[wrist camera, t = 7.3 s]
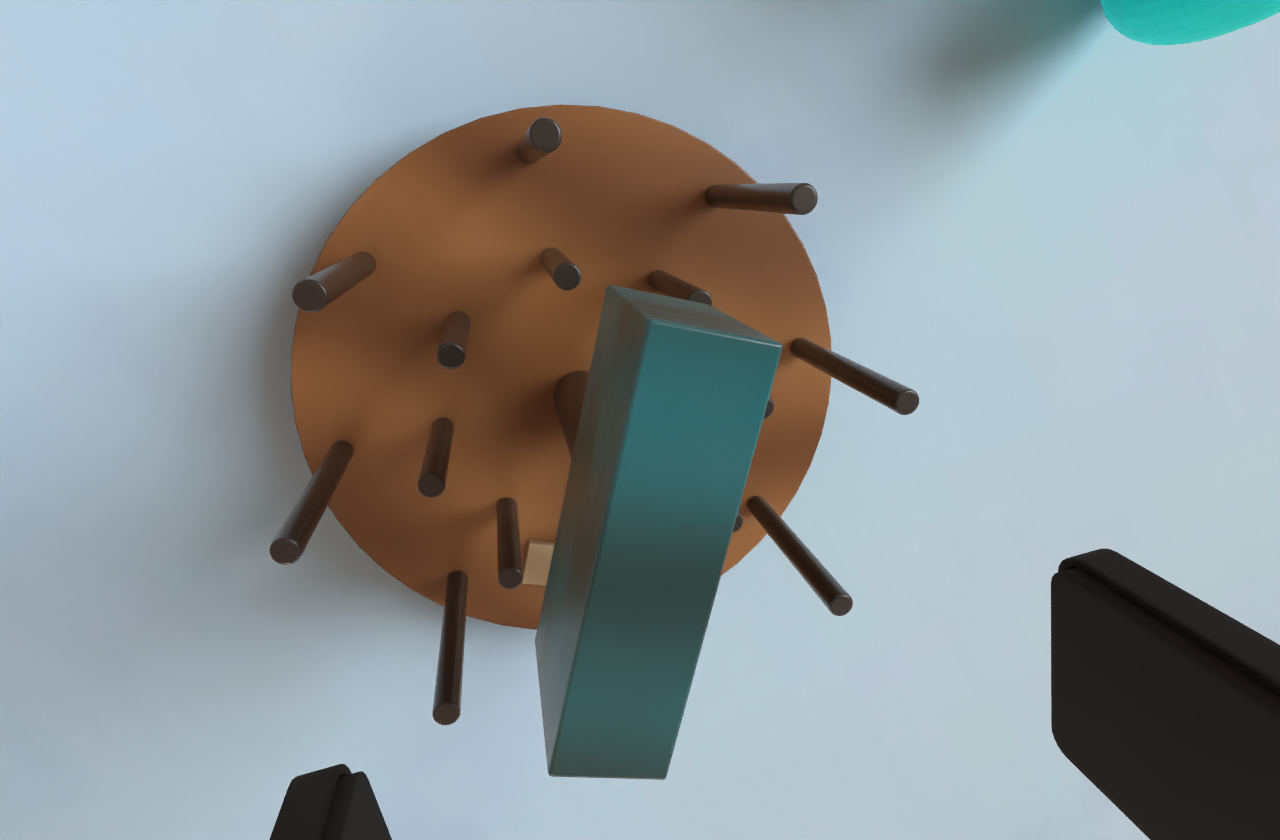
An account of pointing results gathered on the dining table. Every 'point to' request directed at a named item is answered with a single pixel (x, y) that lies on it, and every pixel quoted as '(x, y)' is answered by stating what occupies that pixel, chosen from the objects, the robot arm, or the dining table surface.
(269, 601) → the dining table surface
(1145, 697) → the robot arm
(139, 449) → the dining table surface
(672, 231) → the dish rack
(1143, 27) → the donuts
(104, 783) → the dining table surface
